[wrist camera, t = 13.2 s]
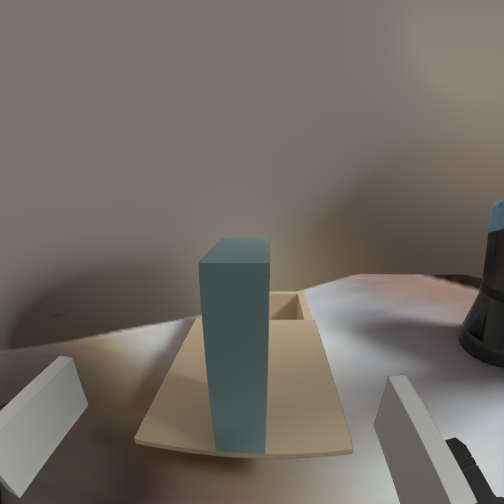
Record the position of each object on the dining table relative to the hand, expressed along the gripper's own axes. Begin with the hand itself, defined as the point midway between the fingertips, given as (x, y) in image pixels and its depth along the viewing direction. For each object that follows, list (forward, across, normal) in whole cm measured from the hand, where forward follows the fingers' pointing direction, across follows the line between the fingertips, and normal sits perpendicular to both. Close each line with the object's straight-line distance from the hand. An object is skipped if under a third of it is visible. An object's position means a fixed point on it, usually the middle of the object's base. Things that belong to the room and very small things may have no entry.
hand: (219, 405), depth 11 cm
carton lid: (+13, 0, -8) cm, 15 cm away
